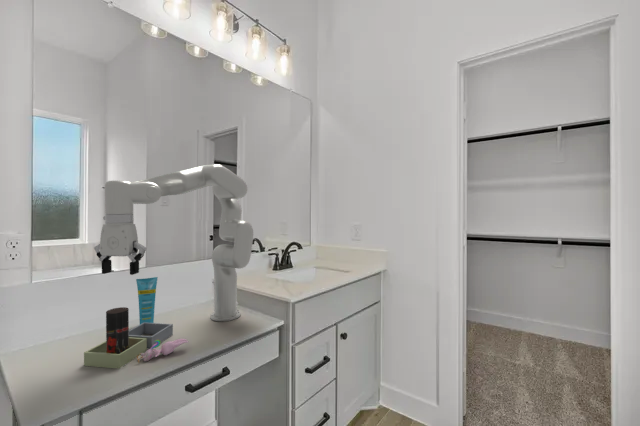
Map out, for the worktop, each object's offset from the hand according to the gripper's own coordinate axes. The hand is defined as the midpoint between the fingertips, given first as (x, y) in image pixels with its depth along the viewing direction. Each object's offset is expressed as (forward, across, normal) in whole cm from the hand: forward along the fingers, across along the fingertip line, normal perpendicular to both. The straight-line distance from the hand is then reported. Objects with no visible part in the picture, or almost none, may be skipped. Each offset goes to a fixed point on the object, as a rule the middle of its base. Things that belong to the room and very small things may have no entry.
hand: (120, 273), depth 97 cm
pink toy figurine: (+27, +13, +2) cm, 30 cm away
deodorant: (+27, 0, -1) cm, 27 cm away
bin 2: (+27, +1, +11) cm, 29 cm away
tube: (+27, -9, +24) cm, 38 cm away
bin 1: (+27, 0, -1) cm, 27 cm away
